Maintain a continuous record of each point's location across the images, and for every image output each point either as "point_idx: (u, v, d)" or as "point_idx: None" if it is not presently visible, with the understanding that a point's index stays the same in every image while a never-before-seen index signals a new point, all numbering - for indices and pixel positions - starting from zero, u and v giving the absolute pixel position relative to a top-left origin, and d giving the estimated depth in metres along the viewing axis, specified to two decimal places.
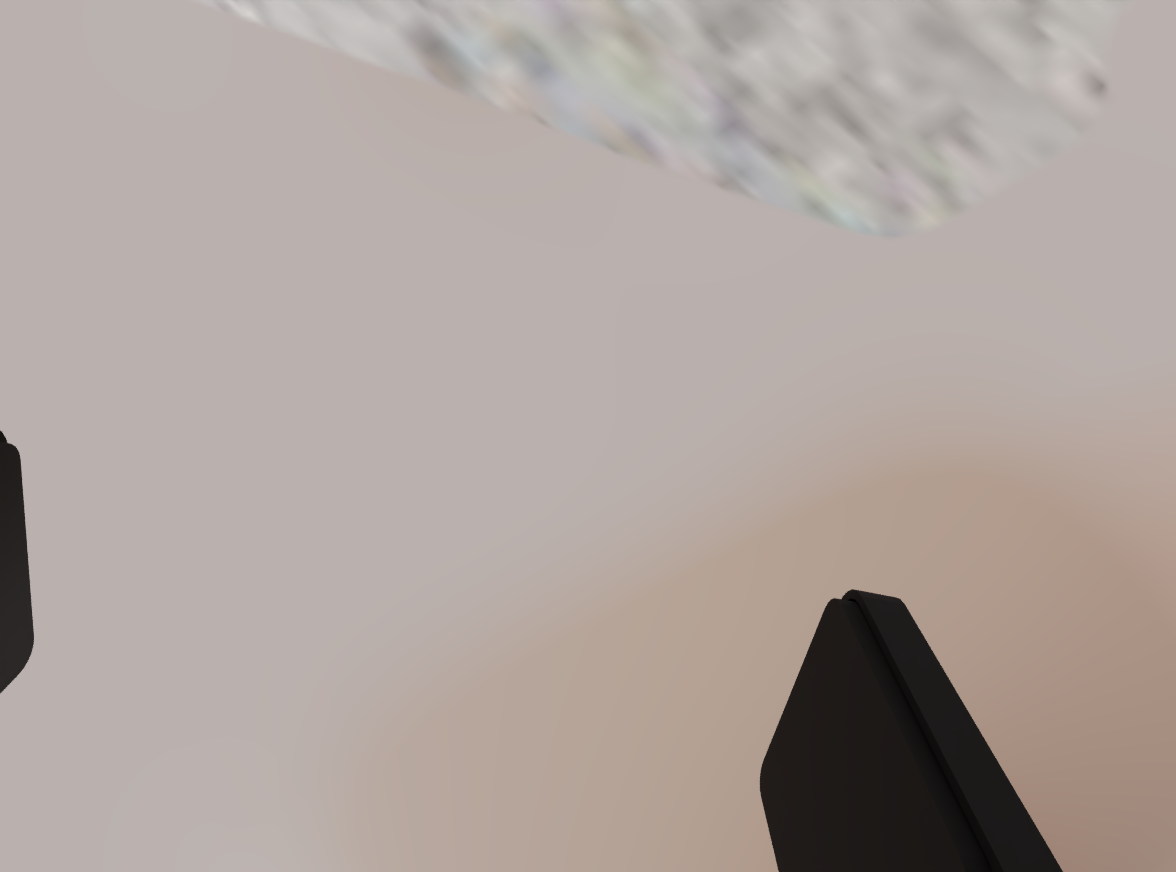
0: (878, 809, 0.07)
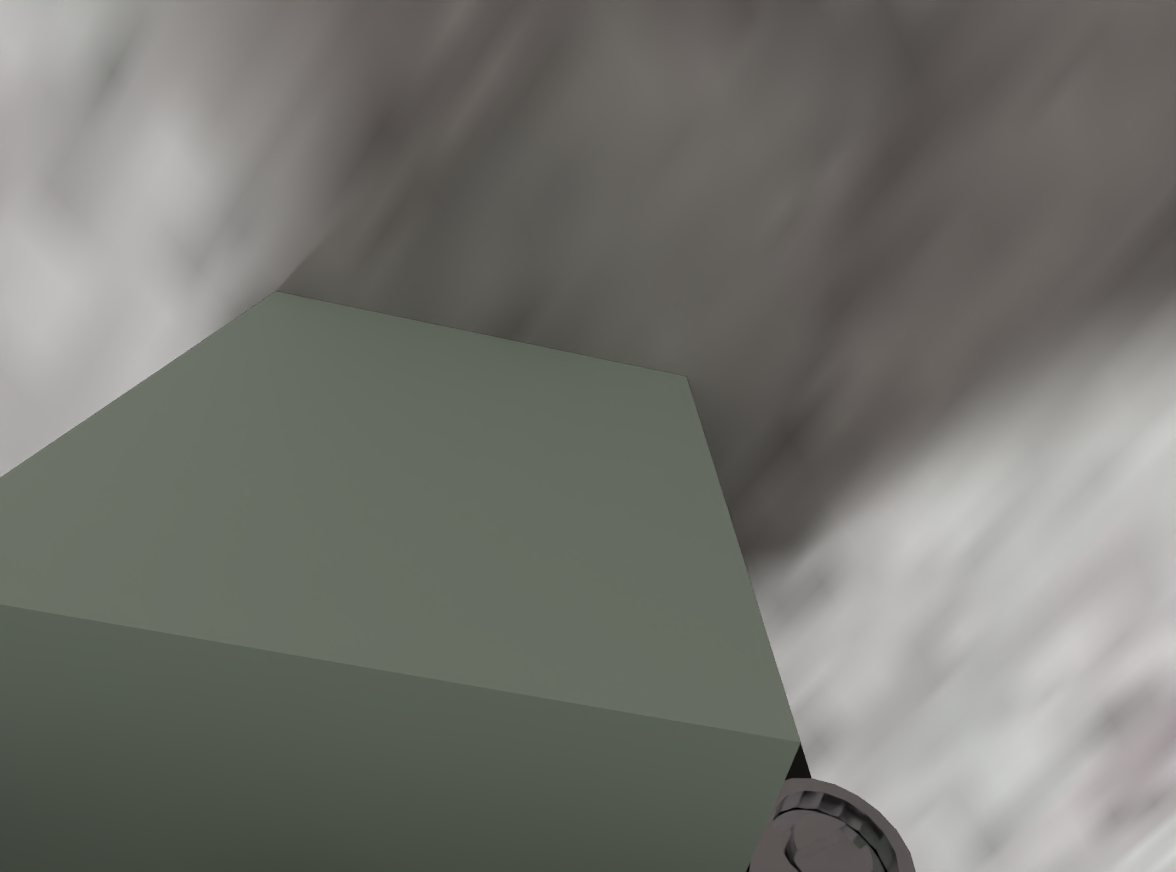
0: None
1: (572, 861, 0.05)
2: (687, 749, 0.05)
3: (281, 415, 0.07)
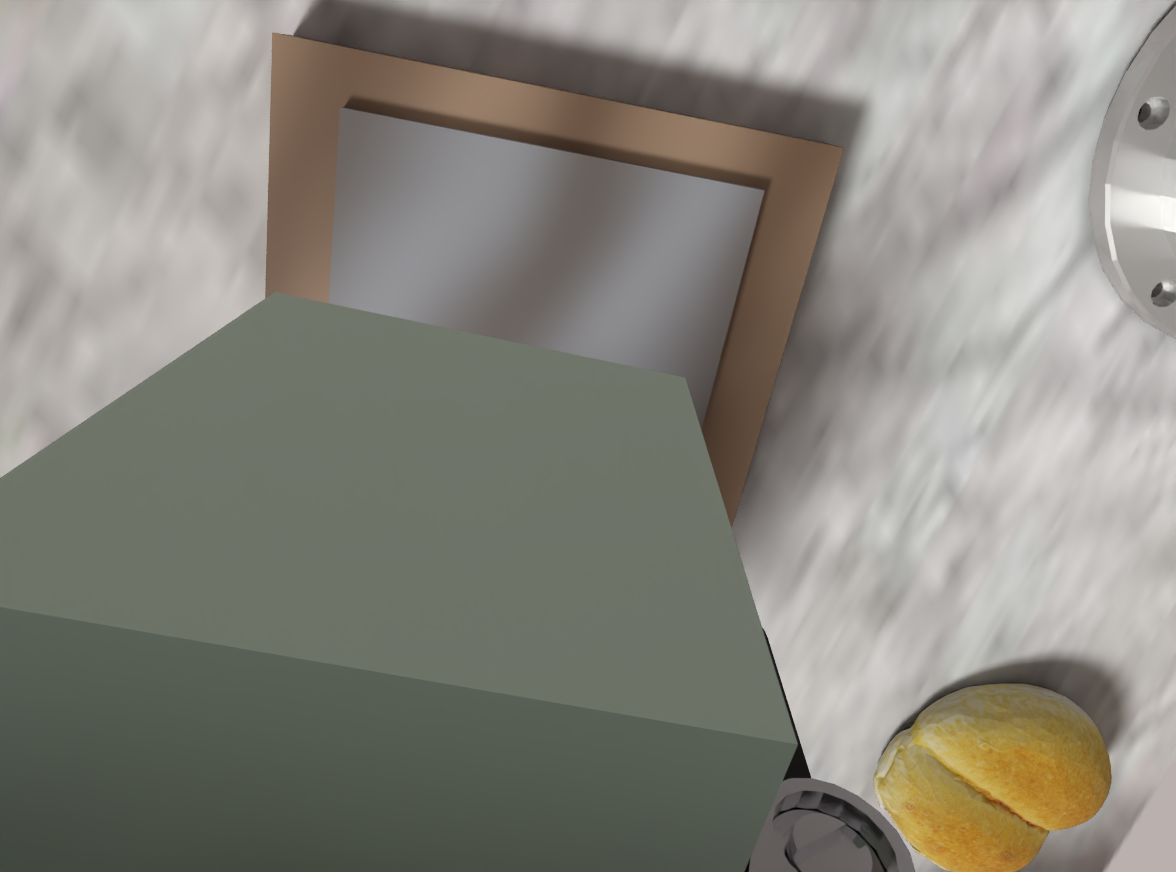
0: None
1: (571, 862, 0.05)
2: (685, 750, 0.05)
3: (279, 416, 0.07)
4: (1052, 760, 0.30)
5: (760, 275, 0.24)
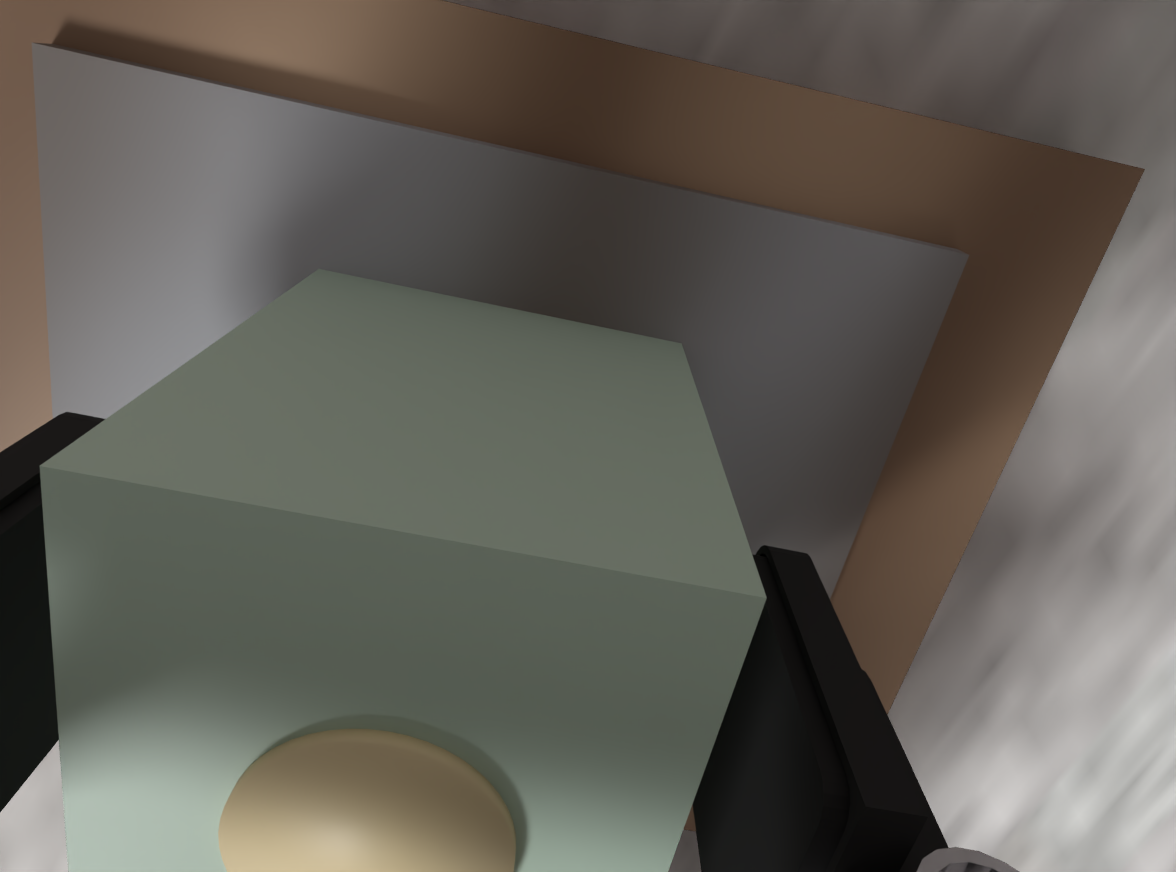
0: (766, 740, 0.08)
1: (589, 701, 0.06)
2: (679, 604, 0.06)
3: (338, 364, 0.08)
4: None
5: (932, 419, 0.12)
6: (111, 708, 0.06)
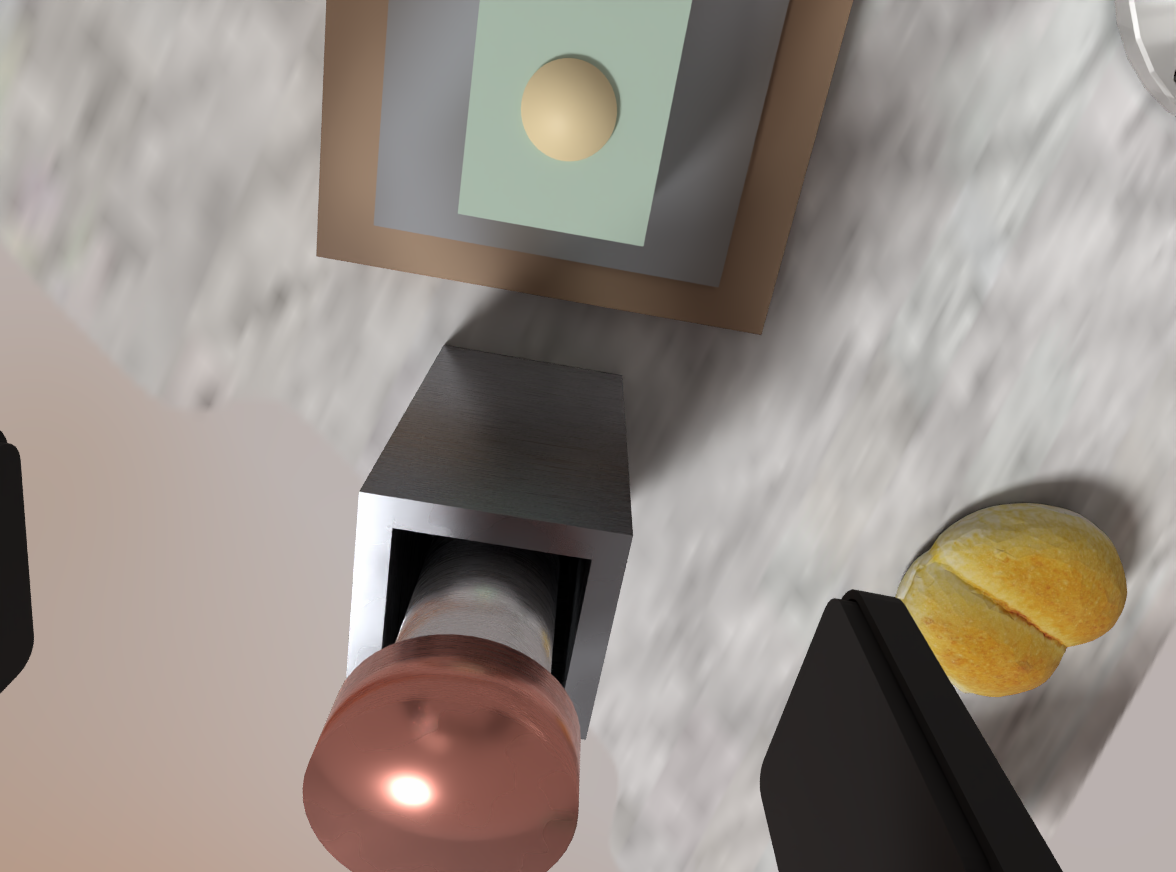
0: (878, 808, 0.07)
1: (640, 42, 0.20)
2: None
3: None
4: (1068, 566, 0.31)
5: (794, 55, 0.26)
6: (491, 52, 0.20)
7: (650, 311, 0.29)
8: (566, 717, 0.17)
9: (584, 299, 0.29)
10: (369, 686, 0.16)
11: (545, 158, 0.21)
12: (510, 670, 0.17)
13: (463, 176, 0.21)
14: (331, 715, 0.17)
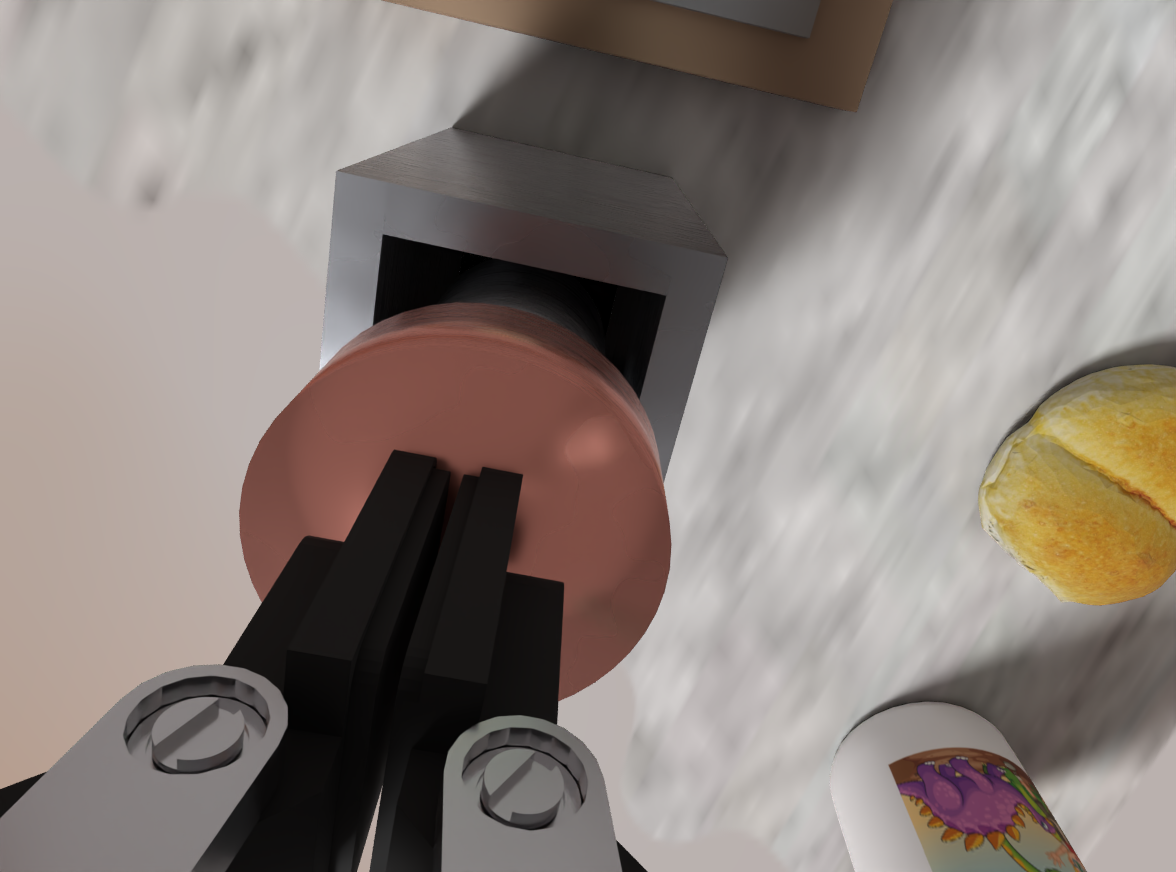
0: None
1: None
2: None
3: None
4: None
5: None
6: None
7: (718, 73, 0.23)
8: (649, 434, 0.11)
9: (635, 53, 0.23)
10: (350, 352, 0.10)
11: None
12: (570, 347, 0.11)
13: None
14: None
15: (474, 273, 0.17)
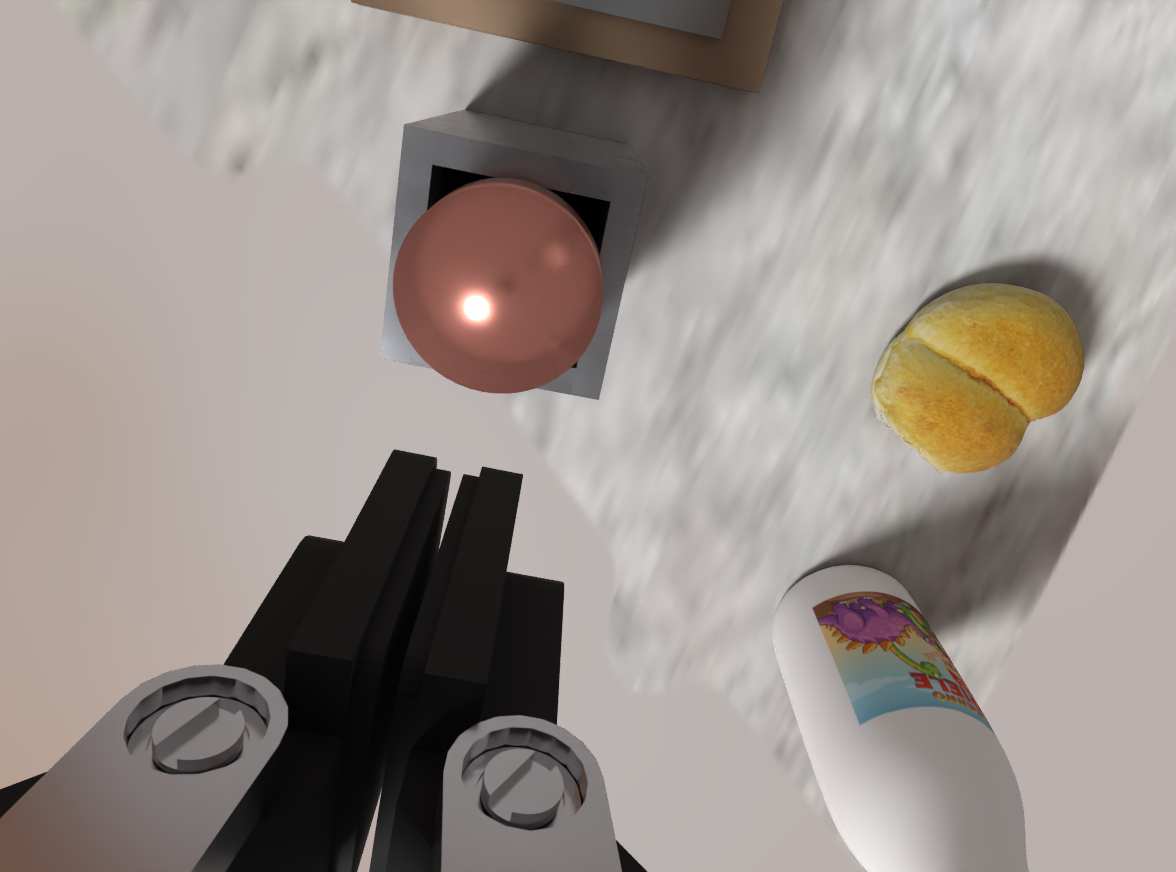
0: None
1: None
2: None
3: None
4: (1030, 328, 0.34)
5: None
6: None
7: (658, 65, 0.32)
8: (593, 243, 0.22)
9: (598, 52, 0.31)
10: (446, 196, 0.21)
11: None
12: (552, 195, 0.22)
13: None
14: None
15: None
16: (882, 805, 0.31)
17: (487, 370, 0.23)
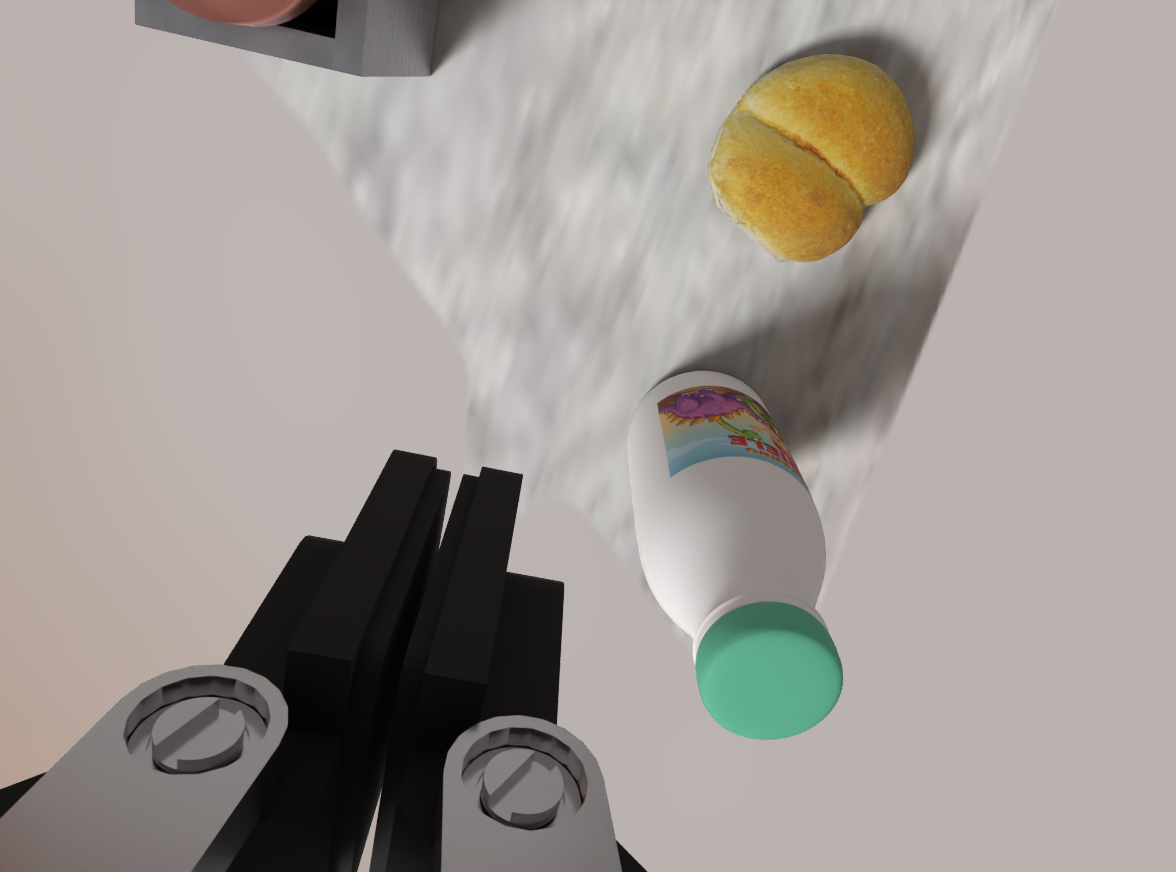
0: None
1: None
2: None
3: None
4: (851, 89, 0.34)
5: None
6: None
7: None
8: None
9: None
10: None
11: None
12: None
13: None
14: None
15: None
16: (677, 538, 0.30)
17: None
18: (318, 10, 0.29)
